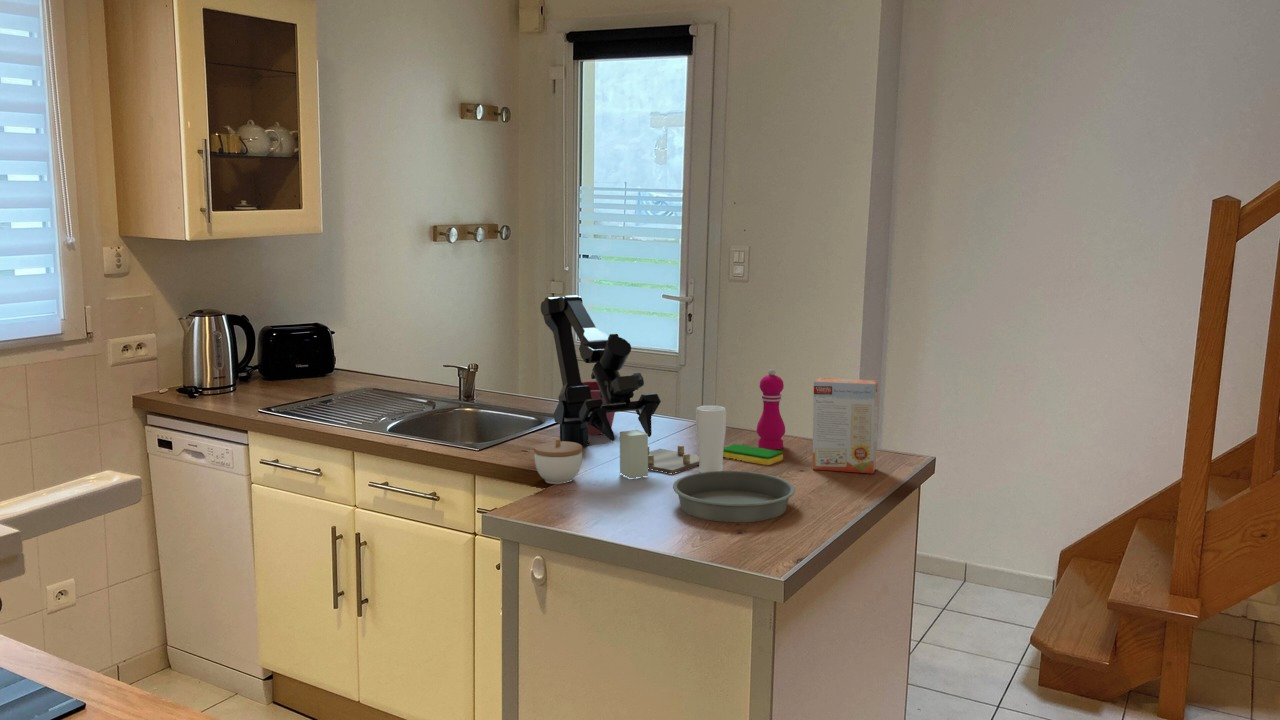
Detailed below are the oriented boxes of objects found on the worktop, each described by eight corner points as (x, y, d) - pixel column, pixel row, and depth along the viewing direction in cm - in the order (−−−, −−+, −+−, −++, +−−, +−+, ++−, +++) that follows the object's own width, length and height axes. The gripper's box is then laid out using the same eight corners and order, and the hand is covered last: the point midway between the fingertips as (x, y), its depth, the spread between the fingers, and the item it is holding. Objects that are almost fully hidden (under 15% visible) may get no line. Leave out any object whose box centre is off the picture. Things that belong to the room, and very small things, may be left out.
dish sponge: (734, 453, 249) (734, 443, 248) (783, 461, 240) (783, 451, 240) (719, 458, 243) (719, 448, 243) (768, 467, 235) (768, 456, 234)
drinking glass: (705, 477, 224) (706, 412, 222) (690, 470, 230) (690, 406, 228) (731, 474, 227) (731, 409, 225) (715, 467, 233) (716, 404, 231)
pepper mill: (784, 450, 249) (785, 371, 246) (755, 449, 250) (756, 370, 247) (785, 444, 256) (787, 367, 253) (757, 443, 257) (758, 366, 254)
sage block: (620, 475, 226) (619, 431, 225) (637, 472, 229) (637, 429, 227) (630, 480, 222) (629, 436, 221) (647, 477, 224) (647, 433, 223)
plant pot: (608, 438, 263) (608, 391, 261) (559, 435, 267) (559, 388, 266) (627, 428, 276) (627, 382, 274) (581, 424, 281) (580, 379, 279)
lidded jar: (580, 473, 228) (579, 433, 227) (585, 485, 218) (585, 443, 216) (532, 475, 226) (532, 435, 225) (536, 488, 216) (535, 445, 214)
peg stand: (621, 464, 236) (621, 452, 235) (659, 452, 247) (659, 440, 247) (672, 474, 227) (672, 461, 226) (710, 461, 238) (710, 449, 238)
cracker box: (876, 468, 231) (879, 379, 228) (873, 474, 226) (876, 383, 223) (815, 463, 236) (817, 376, 233) (811, 469, 230) (813, 380, 227)
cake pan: (707, 532, 186) (707, 509, 185) (653, 498, 208) (652, 477, 208) (818, 516, 196) (819, 494, 195) (755, 485, 218) (755, 465, 217)
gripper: (583, 364, 223) (605, 421, 215) (656, 358, 231) (680, 413, 223) (569, 394, 231) (590, 450, 223) (641, 387, 239) (663, 441, 231)
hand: (632, 438), depth 225 cm, fingers open, 9 cm apart
